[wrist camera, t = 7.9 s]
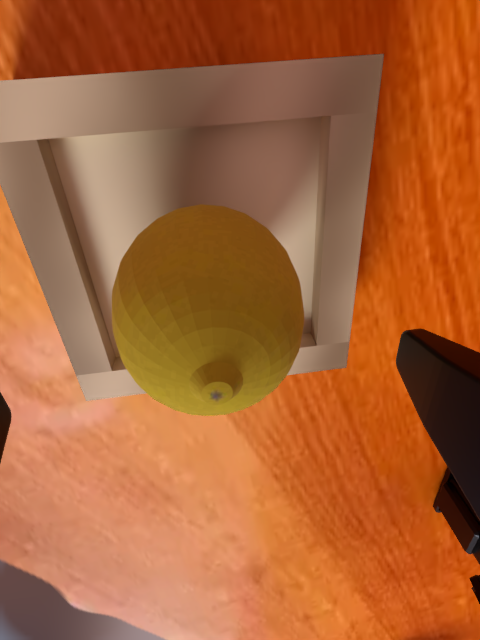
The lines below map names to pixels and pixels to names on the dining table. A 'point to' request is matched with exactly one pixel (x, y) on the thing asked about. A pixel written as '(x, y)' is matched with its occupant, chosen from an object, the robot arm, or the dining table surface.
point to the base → (190, 184)
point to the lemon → (207, 310)
